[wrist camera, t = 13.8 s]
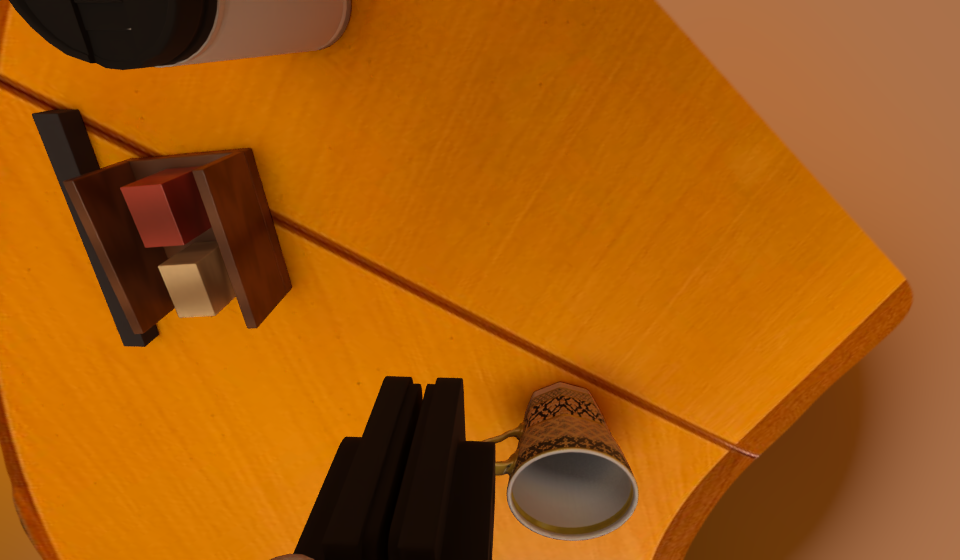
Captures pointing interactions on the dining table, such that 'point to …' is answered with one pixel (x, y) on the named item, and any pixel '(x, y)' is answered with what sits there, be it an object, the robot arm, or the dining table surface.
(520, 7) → the dining table surface
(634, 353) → the dining table surface
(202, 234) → the open wooden box
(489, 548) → the robot arm
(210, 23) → the travel mug
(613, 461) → the ceramic cup
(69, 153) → the edge rail
